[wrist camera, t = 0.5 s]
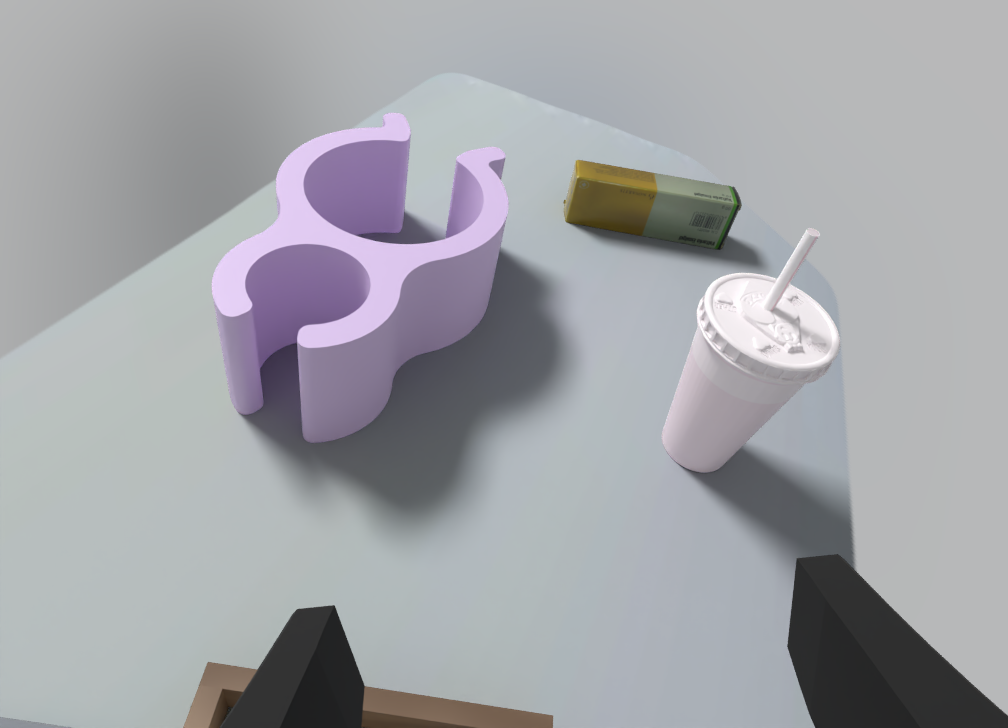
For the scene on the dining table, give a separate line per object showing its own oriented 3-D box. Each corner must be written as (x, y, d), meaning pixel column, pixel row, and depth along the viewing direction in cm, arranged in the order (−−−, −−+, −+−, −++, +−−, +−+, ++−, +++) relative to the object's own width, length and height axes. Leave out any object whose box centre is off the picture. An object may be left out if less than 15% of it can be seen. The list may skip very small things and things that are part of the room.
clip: (389, 477, 34) (397, 384, 29) (164, 383, 36) (136, 280, 31) (521, 253, 48) (542, 163, 43) (355, 192, 49) (357, 98, 44)
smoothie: (718, 394, 42) (840, 193, 32) (772, 485, 38) (931, 290, 28) (620, 404, 40) (717, 195, 30) (666, 502, 36) (796, 299, 26)
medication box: (716, 231, 54) (738, 185, 51) (722, 252, 52) (745, 206, 49) (562, 204, 53) (575, 155, 50) (562, 224, 51) (576, 175, 48)
